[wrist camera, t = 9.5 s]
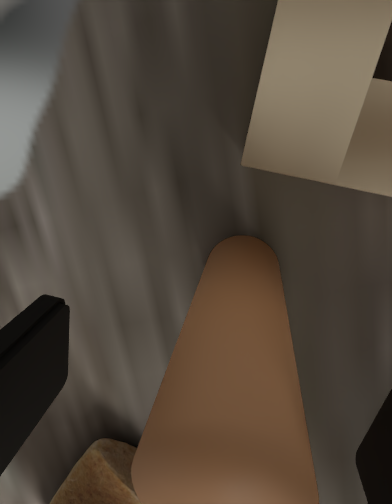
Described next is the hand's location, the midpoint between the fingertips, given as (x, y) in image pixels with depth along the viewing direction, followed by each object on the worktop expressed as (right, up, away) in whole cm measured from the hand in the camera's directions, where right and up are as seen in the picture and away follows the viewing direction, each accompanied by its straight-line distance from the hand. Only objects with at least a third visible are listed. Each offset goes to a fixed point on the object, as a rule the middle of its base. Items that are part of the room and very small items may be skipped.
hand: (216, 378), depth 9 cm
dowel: (+2, +3, +9) cm, 9 cm away
